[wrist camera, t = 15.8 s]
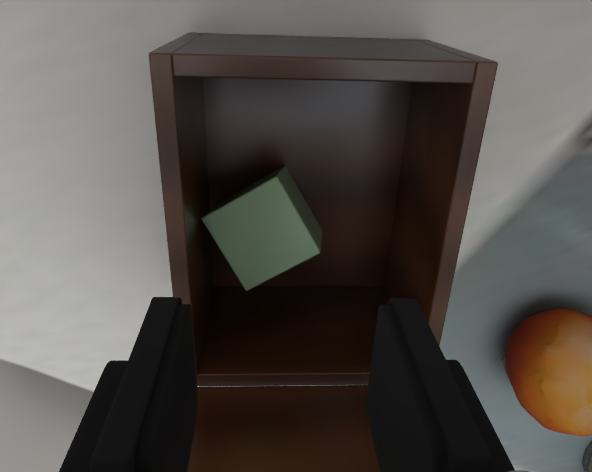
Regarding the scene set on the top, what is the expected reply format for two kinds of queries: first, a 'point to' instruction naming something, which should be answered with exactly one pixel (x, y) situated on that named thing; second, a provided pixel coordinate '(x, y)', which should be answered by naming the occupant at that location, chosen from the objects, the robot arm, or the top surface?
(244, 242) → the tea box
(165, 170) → the box
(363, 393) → the lid
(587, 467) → the thermos
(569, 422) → the fruit
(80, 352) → the top surface
